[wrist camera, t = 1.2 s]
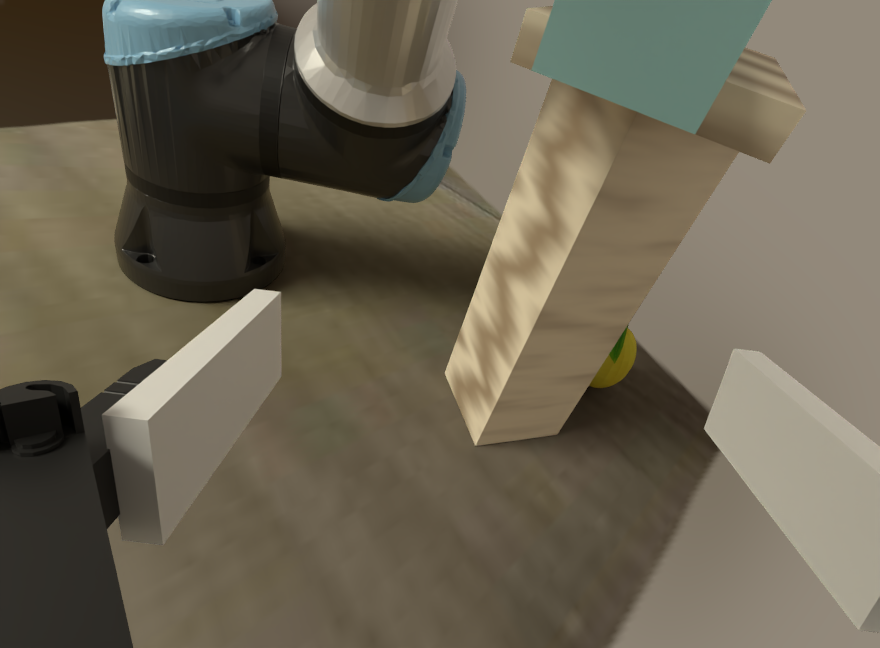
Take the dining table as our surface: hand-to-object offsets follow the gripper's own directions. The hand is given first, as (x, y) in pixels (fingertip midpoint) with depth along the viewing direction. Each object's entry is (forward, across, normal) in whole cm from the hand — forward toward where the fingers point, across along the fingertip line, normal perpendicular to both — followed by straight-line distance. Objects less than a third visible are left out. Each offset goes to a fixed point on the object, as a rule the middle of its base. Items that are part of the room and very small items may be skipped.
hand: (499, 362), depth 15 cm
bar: (+11, +6, +10) cm, 16 cm away
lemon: (+32, +13, -17) cm, 38 cm away
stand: (+25, +4, -17) cm, 31 cm away
